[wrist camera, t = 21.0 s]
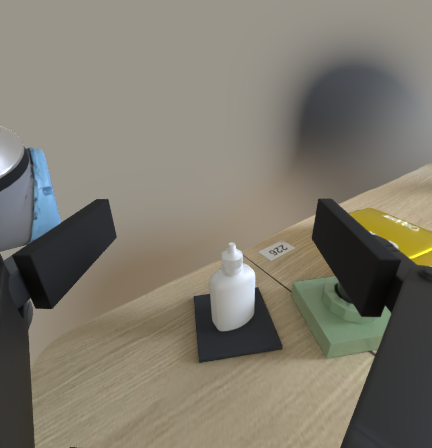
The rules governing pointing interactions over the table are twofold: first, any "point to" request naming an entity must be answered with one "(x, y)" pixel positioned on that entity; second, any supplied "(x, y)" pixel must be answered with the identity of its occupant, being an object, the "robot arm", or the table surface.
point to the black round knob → (342, 293)
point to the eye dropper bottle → (232, 291)
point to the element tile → (398, 234)
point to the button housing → (337, 319)
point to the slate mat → (234, 332)
